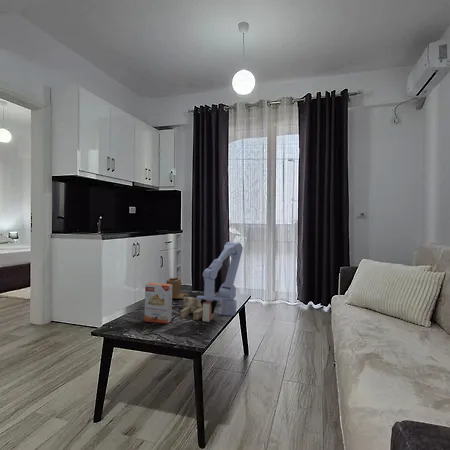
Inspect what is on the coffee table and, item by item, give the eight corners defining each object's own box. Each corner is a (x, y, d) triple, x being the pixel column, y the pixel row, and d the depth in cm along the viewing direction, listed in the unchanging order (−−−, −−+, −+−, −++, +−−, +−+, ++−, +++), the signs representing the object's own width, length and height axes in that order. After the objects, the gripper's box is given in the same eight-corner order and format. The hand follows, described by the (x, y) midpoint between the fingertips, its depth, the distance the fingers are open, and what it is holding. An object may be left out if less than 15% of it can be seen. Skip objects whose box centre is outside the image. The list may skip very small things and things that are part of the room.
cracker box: (143, 322, 175) (144, 284, 175) (148, 318, 181) (149, 282, 181) (167, 324, 172) (168, 285, 172) (171, 320, 178) (172, 283, 178)
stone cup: (162, 299, 226) (163, 278, 226) (169, 295, 238) (170, 275, 238) (183, 301, 223) (183, 279, 222) (188, 297, 234) (189, 277, 234)
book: (214, 316, 188) (214, 299, 188) (209, 322, 178) (209, 304, 178) (208, 316, 189) (208, 299, 189) (202, 321, 179) (202, 303, 179)
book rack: (208, 313, 194) (209, 299, 194) (201, 320, 181) (201, 304, 181) (184, 311, 198) (184, 296, 198) (175, 317, 185) (175, 302, 185)
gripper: (195, 289, 182) (194, 313, 182) (219, 292, 178) (218, 316, 178) (199, 287, 189) (198, 310, 189) (222, 289, 185) (222, 312, 185)
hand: (208, 313), depth 184 cm, fingers closed on book, 4 cm apart
